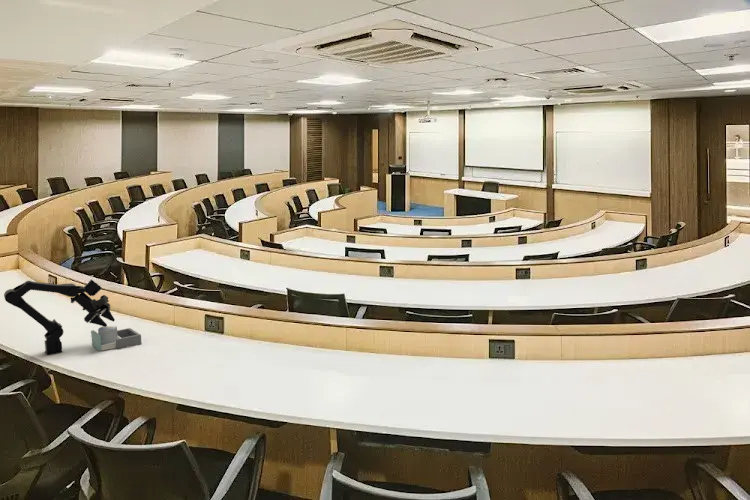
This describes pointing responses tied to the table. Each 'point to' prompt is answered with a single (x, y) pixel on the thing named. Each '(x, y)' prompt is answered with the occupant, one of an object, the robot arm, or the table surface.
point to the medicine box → (108, 334)
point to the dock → (127, 338)
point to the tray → (97, 342)
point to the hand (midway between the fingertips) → (110, 323)
